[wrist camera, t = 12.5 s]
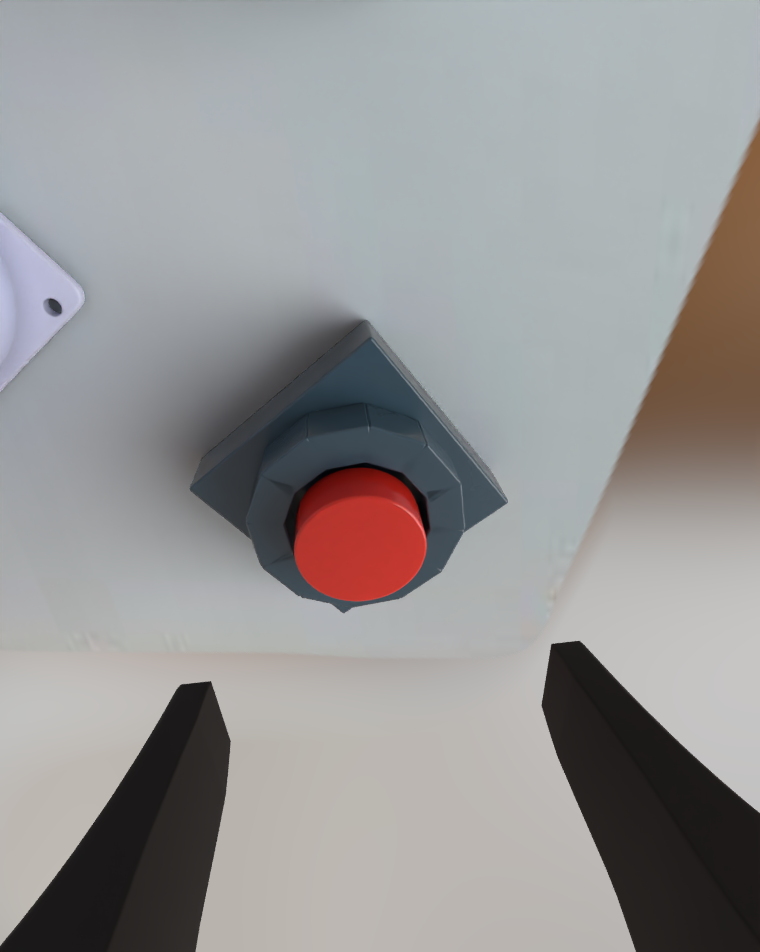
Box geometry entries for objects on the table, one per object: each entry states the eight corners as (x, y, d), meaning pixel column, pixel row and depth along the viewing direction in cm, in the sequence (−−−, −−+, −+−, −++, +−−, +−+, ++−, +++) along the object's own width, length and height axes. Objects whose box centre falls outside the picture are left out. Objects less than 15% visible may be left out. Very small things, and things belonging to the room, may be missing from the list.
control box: (341, 578, 23) (345, 649, 20) (200, 458, 20) (174, 521, 16) (492, 472, 21) (526, 532, 18) (366, 317, 17) (377, 354, 14)
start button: (350, 584, 19) (353, 621, 17) (269, 516, 17) (264, 550, 15) (441, 522, 18) (453, 555, 16) (366, 442, 16) (370, 471, 14)
